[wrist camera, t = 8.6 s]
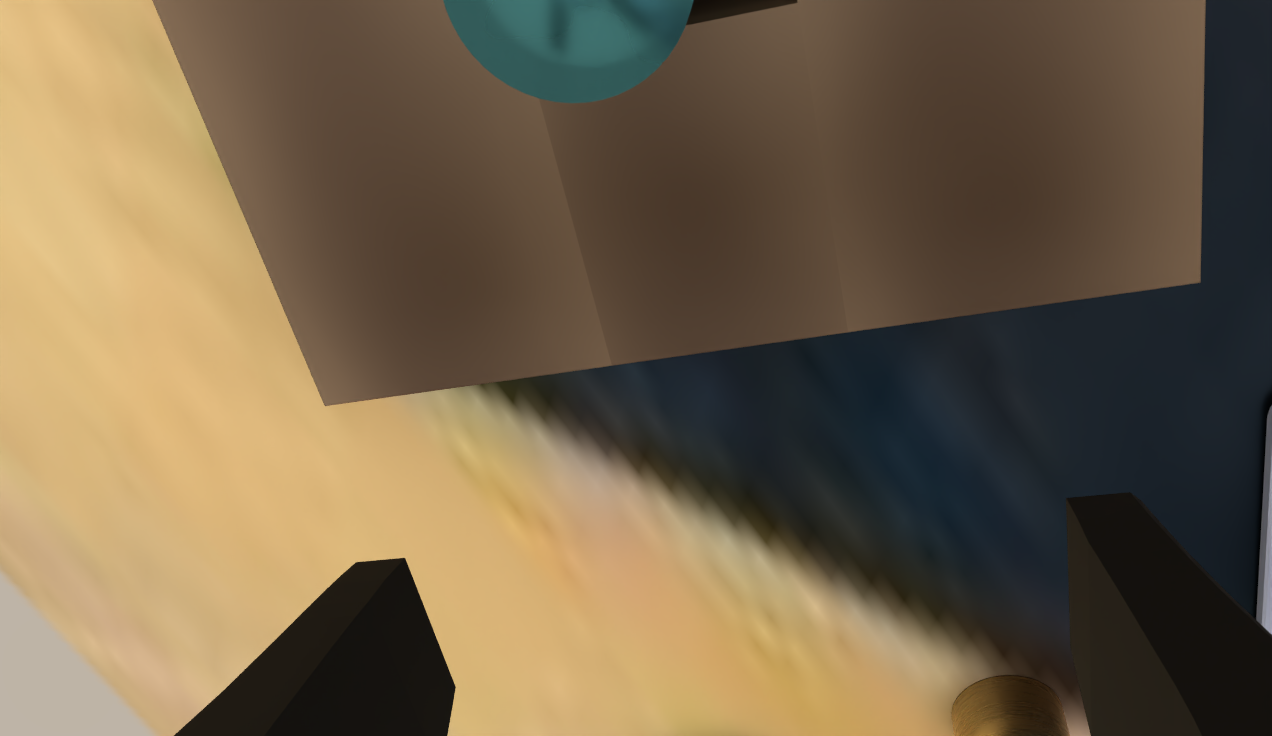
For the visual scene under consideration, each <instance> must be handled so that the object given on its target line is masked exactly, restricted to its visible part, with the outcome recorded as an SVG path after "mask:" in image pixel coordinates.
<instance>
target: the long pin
mask: <svg viewBox="0 0 1272 736" xmlns="http://www.w3.org/2000/svg"><path fill="white" fill-rule="evenodd" d="M443 1H444V5H445V8H446V11H447V13H448V16H449V18H450V20H451V23H452V25H453V27H454V29H455V30H456V32H457V34H458V36H459V37H460V39H461V41H462V42H463V43H464V45H465V46H466V47H467V49H468V50H469V52H470V53H471V54H472V55H473V56H474V57H475V58H476V59H477V61H478V62H479V63H480V64H481V65H482V66H483V67H484V68H486V69H487V70H488V71H489V72H490V73H491V74H493V75H494V76H495V77H496V78H498V79H499V80H501V81H503V82H504V83H506V84H507V85H509V86H510V87H512V88H514V89H516V90H518V91H521V92H523V93H525V94H528V95H530V96H533V97H536V98H539V99H543V100H548V101H553V102H561V103H588V102H593V101H599V100H604V99H607V98H610V97H613V96H616V95H619V94H621V93H623V92H625V91H627V90H629V89H631V88H633V87H635V86H636V85H638V84H639V83H641V82H642V81H644V80H645V79H646V78H648V77H649V76H650V75H651V74H652V73H653V72H654V71H656V70H657V69H658V68H659V67H660V65H661V64H662V63H663V62H664V61H665V60H666V59H667V58H668V56H669V55H670V53H671V52H672V50H673V49H674V47H675V46H676V44H677V43H678V41H679V39H680V37H681V35H682V33H683V31H684V29H685V26H686V23H687V20H688V17H689V14H690V11H691V8H692V4H693V1H694V0H443Z"/></svg>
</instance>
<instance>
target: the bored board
mask: <svg viewBox="0 0 1272 736" xmlns="http://www.w3.org/2000/svg"><path fill="white" fill-rule="evenodd" d="M1205 2H1206V0H694V1H693V4H692V8H691V11H690V14H689V17H688V20H687V23H686V26H685V29H684V31H683V33H682V35H681V37H680V39H679V41H678V43H677V44H676V46H675V47H674V49H673V50H672V52H671V53H670V55H669V56H668V58H667V59H666V60H665V61H664V62H663V63H662V64H661V65H660V67H659V68H658V69H657V70H656V71H654V72H653V73H652V74H651V75H650V76H649V77H648V78H646V79H645V80H644V81H642V82H641V83H639V84H638V85H636V86H635V87H633V88H631V89H629V90H627V91H625V92H623V93H621V94H619V95H616V96H613V97H610V98H607V99H604V100H599V101H593V102H588V103H561V102H553V101H548V100H543V99H539V98H536V97H533V96H530V95H528V94H525V93H523V92H521V91H518V90H516V89H514V88H512V87H510V86H509V85H507V84H506V83H504V82H503V81H501V80H499V79H498V78H496V77H495V76H494V75H493V74H491V73H490V72H489V71H488V70H487V69H486V68H484V67H483V66H482V65H481V64H480V63H479V62H478V61H477V59H476V58H475V57H474V56H473V55H472V54H471V53H470V52H469V50H468V49H467V47H466V46H465V45H464V43H463V42H462V41H461V39H460V37H459V36H458V34H457V32H456V30H455V29H454V27H453V25H452V23H451V20H450V18H449V16H448V13H447V11H446V8H445V5H444V1H443V0H153V3H154V5H155V7H156V10H157V12H158V15H159V17H160V19H161V22H162V24H163V26H164V29H165V31H166V33H167V36H168V38H169V40H170V43H171V45H172V47H173V50H174V52H175V55H176V57H177V59H178V62H179V64H180V66H181V69H182V71H183V73H184V76H185V78H186V80H187V83H188V85H189V87H190V90H191V92H192V95H193V97H194V99H195V102H196V104H197V106H198V109H199V111H200V113H201V116H202V118H203V120H204V123H205V125H206V127H207V130H208V132H209V135H210V137H211V139H212V142H213V144H214V146H215V149H216V151H217V153H218V156H219V158H220V160H221V163H222V165H223V168H224V170H225V172H226V175H227V177H228V179H229V182H230V184H231V186H232V189H233V191H234V193H235V196H236V198H237V200H238V203H239V205H240V208H241V210H242V212H243V215H244V217H245V219H246V222H247V224H248V226H249V229H250V231H251V233H252V236H253V238H254V240H255V243H256V245H257V248H258V250H259V252H260V255H261V257H262V259H263V262H264V264H265V266H266V269H267V271H268V273H269V276H270V278H271V280H272V283H273V285H274V288H275V290H276V292H277V295H278V297H279V299H280V302H281V304H282V306H283V309H284V311H285V313H286V316H287V318H288V321H289V323H290V325H291V328H292V330H293V332H294V335H295V337H296V339H297V342H298V344H299V346H300V349H301V351H302V353H303V356H304V358H305V361H306V363H307V365H308V368H309V370H310V372H311V375H312V377H313V379H314V382H315V384H316V386H317V389H318V391H319V393H320V396H321V398H322V401H323V403H324V405H325V406H329V405H336V404H343V403H350V402H357V401H364V400H371V399H378V398H386V397H393V396H400V395H407V394H414V393H421V392H428V391H435V390H442V389H449V388H456V387H463V386H471V385H478V384H485V383H492V382H499V381H506V380H513V379H520V378H527V377H534V376H541V375H548V374H556V373H563V372H570V371H577V370H584V369H591V368H598V367H605V366H612V365H619V364H626V363H633V362H641V361H648V360H655V359H662V358H669V357H676V356H683V355H690V354H697V353H704V352H711V351H718V350H726V349H733V348H740V347H747V346H754V345H761V344H768V343H775V342H782V341H789V340H796V339H803V338H811V337H818V336H825V335H832V334H839V333H846V332H853V331H860V330H867V329H874V328H881V327H889V326H896V325H903V324H910V323H917V322H924V321H931V320H938V319H945V318H952V317H959V316H966V315H974V314H981V313H988V312H995V311H1002V310H1009V309H1016V308H1023V307H1030V306H1037V305H1044V304H1051V303H1059V302H1066V301H1073V300H1080V299H1087V298H1094V297H1101V296H1108V295H1115V294H1122V293H1129V292H1136V291H1144V290H1151V289H1158V288H1165V287H1172V286H1179V285H1186V284H1193V283H1200V272H1201V218H1202V164H1203V110H1204V56H1205Z"/></svg>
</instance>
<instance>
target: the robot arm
mask: <svg viewBox="0 0 1272 736" xmlns="http://www.w3.org/2000/svg"><path fill="white" fill-rule="evenodd" d="M1066 508H1067V543H1068V577H1069V612H1070V646H1071V652H1072V656H1073V660H1074V665H1075V669H1076V674H1077V678H1078V682H1079V687H1080V691H1081V696H1082V700H1083V704H1084V708H1085V712H1086V717H1087V721H1088V725H1089V729H1090V733H1091V736H1272V406H1271V407H1270V409H1269V412H1268V416H1267V430H1266V448H1265V467H1264V485H1263V504H1262V522H1261V541H1260V560H1259V578H1258V597H1257V615H1256V619H1255V618H1253V617H1252V616H1251V615H1250V614H1249V613H1248V612H1247V611H1246V610H1245V609H1244V608H1243V607H1242V606H1241V605H1240V604H1239V603H1238V602H1236V601H1235V600H1234V599H1233V598H1232V597H1231V596H1230V595H1229V594H1228V593H1227V592H1226V591H1225V590H1224V589H1223V588H1222V587H1221V586H1220V585H1219V584H1218V583H1217V582H1216V581H1215V580H1214V579H1213V578H1212V577H1211V576H1210V575H1209V574H1208V573H1207V572H1206V571H1205V570H1204V569H1203V568H1202V566H1201V565H1200V564H1199V563H1198V562H1197V561H1196V560H1195V559H1194V558H1193V557H1192V556H1191V555H1190V554H1189V553H1188V552H1187V551H1186V550H1185V549H1184V548H1183V547H1182V546H1181V544H1180V543H1179V542H1178V541H1177V540H1176V539H1175V538H1174V537H1173V536H1172V535H1171V534H1170V533H1169V532H1168V530H1167V529H1166V528H1165V527H1164V526H1163V525H1162V524H1161V523H1160V522H1159V520H1158V519H1157V518H1156V517H1155V516H1154V515H1153V514H1152V513H1151V511H1150V510H1149V509H1148V508H1147V507H1146V506H1145V504H1144V503H1143V502H1142V501H1141V500H1139V499H1138V498H1137V497H1136V496H1134V495H1133V494H1132V493H1130V492H1129V493H1118V494H1107V495H1096V496H1085V497H1074V498H1066ZM455 688H456V687H455V684H454V682H453V679H452V677H451V674H450V672H449V669H448V667H447V664H446V661H445V659H444V656H443V654H442V651H441V649H440V646H439V644H438V641H437V639H436V636H435V633H434V631H433V628H432V626H431V623H430V621H429V618H428V616H427V613H426V610H425V608H424V605H423V603H422V600H421V598H420V595H419V593H418V590H417V587H416V585H415V582H414V580H413V577H412V575H411V572H410V570H409V567H408V565H407V562H406V559H405V558H399V559H388V560H377V561H366V562H356V563H355V564H354V565H353V566H351V567H350V568H349V569H348V570H347V571H346V572H345V573H343V574H342V575H341V576H340V577H339V578H338V579H337V580H336V581H335V582H334V583H333V584H332V585H331V586H330V587H329V588H327V589H326V590H325V591H324V592H323V593H322V594H321V595H320V596H319V597H318V598H317V599H316V600H315V601H314V602H313V603H312V604H311V605H310V606H309V607H308V608H307V609H306V610H305V611H304V612H303V613H302V614H301V615H300V616H299V617H298V618H297V619H296V620H295V621H294V622H293V623H292V624H291V625H290V626H289V627H288V628H287V629H286V630H285V631H284V632H283V633H282V634H281V635H280V636H279V637H278V638H277V639H276V640H275V641H274V642H273V643H272V644H271V645H270V646H269V647H268V648H267V649H266V650H265V651H264V652H263V653H262V654H261V655H260V656H259V657H257V658H256V659H255V660H254V661H253V662H252V663H251V664H250V665H249V666H248V667H247V668H246V669H245V670H244V671H243V672H242V673H241V674H240V675H239V676H238V677H237V678H236V679H235V680H234V681H233V682H232V683H231V684H230V685H229V686H228V687H227V688H226V689H225V690H224V691H223V692H222V693H220V694H219V695H218V696H217V697H216V698H215V699H214V700H213V701H212V702H211V703H209V704H208V705H207V706H206V707H205V708H204V709H203V710H202V711H201V712H200V713H198V714H197V715H196V716H195V717H194V718H193V719H192V720H191V721H190V722H189V723H187V724H186V725H185V726H184V727H183V728H182V729H181V730H180V731H179V732H178V733H176V734H175V735H174V736H447V734H448V728H449V723H450V717H451V711H452V705H453V699H454V693H455Z"/></svg>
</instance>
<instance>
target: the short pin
mask: <svg viewBox="0 0 1272 736" xmlns="http://www.w3.org/2000/svg"><path fill="white" fill-rule="evenodd" d="M952 723H953V729H954V735H955V736H1070V734H1069V731H1068V727H1067V723H1066V719H1065V716H1064V712H1063V708H1062V705H1061V702H1060V700H1059V698H1058V696H1057V695H1056V694H1055V693H1054V691H1052V690H1051V689H1050V688H1049V687H1048V686H1046V685H1045V684H1043V683H1041V682H1039V681H1036V680H1034V679H1030V678H1026V677H1021V676H997V677H992V678H988V679H984V680H981V681H979V682H977V683H975V684H973V685H971V686H969V687H968V688H967V689H965V690H964V691H963V692H962V693H961V694H960V695H959V696H958V698H957V699H956V701H955V703H954V705H953V708H952Z"/></svg>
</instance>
